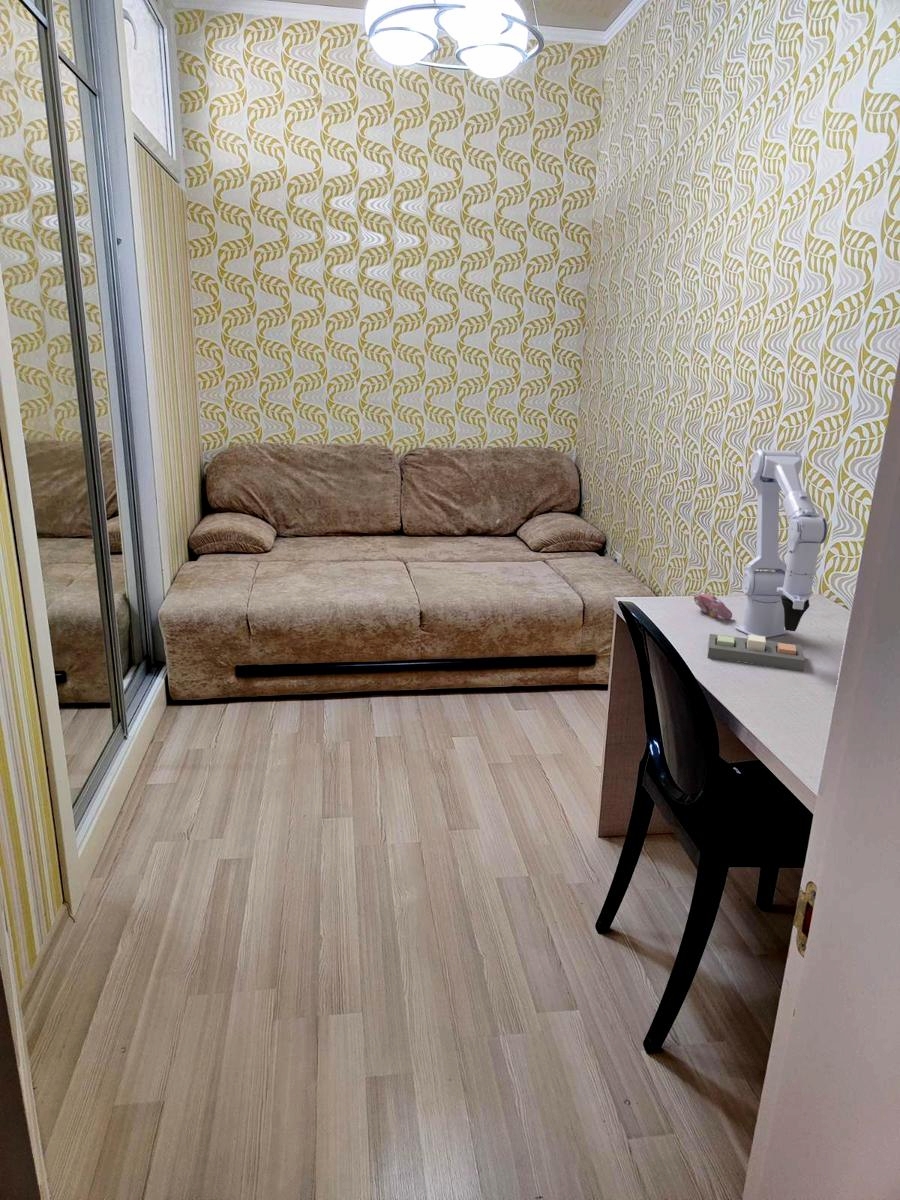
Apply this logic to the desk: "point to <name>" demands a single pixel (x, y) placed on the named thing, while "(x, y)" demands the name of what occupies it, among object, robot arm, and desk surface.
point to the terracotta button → (786, 649)
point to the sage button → (725, 641)
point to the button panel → (756, 654)
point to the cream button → (756, 642)
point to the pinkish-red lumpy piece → (712, 605)
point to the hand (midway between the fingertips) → (789, 629)
